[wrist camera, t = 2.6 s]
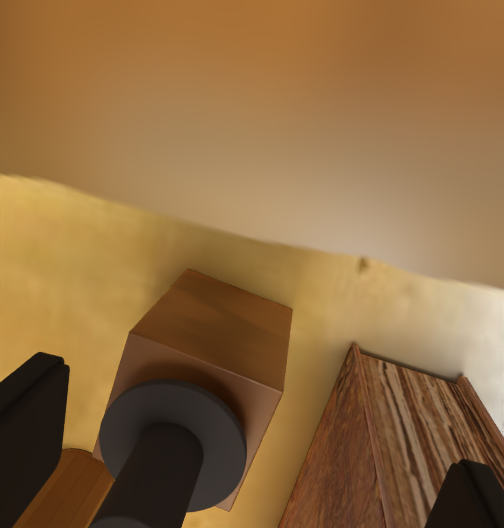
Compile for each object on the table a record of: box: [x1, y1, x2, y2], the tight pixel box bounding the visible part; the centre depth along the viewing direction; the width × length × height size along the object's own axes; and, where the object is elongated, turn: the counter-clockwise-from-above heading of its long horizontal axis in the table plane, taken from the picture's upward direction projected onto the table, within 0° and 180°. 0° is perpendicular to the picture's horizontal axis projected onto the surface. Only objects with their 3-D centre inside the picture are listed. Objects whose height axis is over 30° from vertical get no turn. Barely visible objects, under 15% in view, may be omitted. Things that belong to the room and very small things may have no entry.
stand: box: [92, 269, 293, 512], centre depth 31 cm, size 9×9×12 cm
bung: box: [88, 379, 247, 528], centre depth 22 cm, size 8×8×8 cm
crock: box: [12, 449, 114, 528], centre depth 39 cm, size 7×7×9 cm
